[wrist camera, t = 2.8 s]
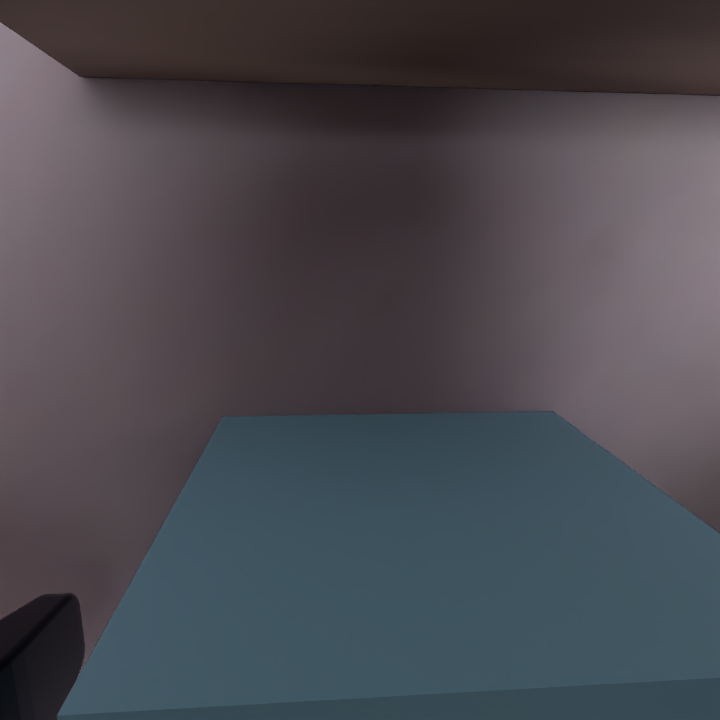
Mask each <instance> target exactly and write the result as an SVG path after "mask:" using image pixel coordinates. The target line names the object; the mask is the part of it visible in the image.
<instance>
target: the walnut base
mask: <svg viewBox="0 0 720 720" xmlns="http://www.w3.org/2000/svg"><path fill="white" fill-rule="evenodd" d="M0 22H1V23H3V24H4V25H5V26H7V27H8V28H10V29H11V30H13V31H14V32H16V33H17V34H19V35H20V36H22V37H23V38H24V39H26V40H27V41H29V42H30V43H32V44H33V45H35V46H36V47H38V48H39V49H40V50H42V51H43V52H45V53H46V54H48V55H49V56H51V57H52V58H54V59H55V60H57V61H58V62H59V63H61V64H62V65H64V66H65V67H67V68H68V69H70V70H71V71H73V72H74V73H76V74H77V75H78V76H80V77H113V78H147V79H182V80H217V81H251V82H286V83H320V84H355V85H389V86H424V87H458V88H493V89H528V90H562V91H597V92H631V93H666V94H700V95H720V0H0Z"/></svg>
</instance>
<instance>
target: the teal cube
mask: <svg viewBox="0 0 720 720" xmlns="http://www.w3.org/2000/svg"><path fill="white" fill-rule="evenodd" d="M57 720H720V533H718V532H717V531H715V530H714V529H713V528H711V527H710V526H709V525H707V524H706V523H705V522H703V521H702V520H700V519H699V518H698V517H696V516H695V515H694V514H692V513H691V512H690V511H688V510H687V509H685V508H684V507H683V506H681V505H680V504H679V503H677V502H676V501H675V500H673V499H672V498H671V497H669V496H668V495H666V494H665V493H664V492H662V491H661V490H660V489H658V488H657V487H656V486H654V485H653V484H651V483H650V482H649V481H647V480H646V479H645V478H643V477H642V476H641V475H639V474H638V473H636V472H635V471H634V470H632V469H631V468H630V467H628V466H627V465H626V464H624V463H623V462H621V461H620V460H619V459H617V458H616V457H615V456H613V455H612V454H611V453H609V452H608V451H606V450H605V449H604V448H602V447H601V446H600V445H598V444H597V443H596V442H594V441H593V440H591V439H590V438H589V437H587V436H586V435H585V434H583V433H582V432H581V431H579V430H578V429H576V428H575V427H574V426H572V425H571V424H570V423H568V422H567V421H566V420H564V419H563V418H561V417H560V416H559V415H557V414H556V413H555V412H553V411H531V412H467V413H404V414H341V415H278V416H223V417H222V418H221V420H220V422H219V424H218V426H217V427H216V429H215V431H214V433H213V435H212V436H211V438H210V440H209V442H208V444H207V445H206V447H205V449H204V451H203V453H202V454H201V456H200V458H199V460H198V462H197V463H196V465H195V467H194V469H193V471H192V473H191V474H190V476H189V478H188V480H187V482H186V483H185V485H184V487H183V489H182V491H181V492H180V494H179V496H178V498H177V500H176V501H175V503H174V505H173V507H172V509H171V510H170V512H169V514H168V516H167V518H166V519H165V521H164V523H163V525H162V527H161V528H160V530H159V532H158V534H157V536H156V537H155V539H154V541H153V543H152V545H151V546H150V548H149V550H148V552H147V554H146V555H145V557H144V559H143V561H142V563H141V564H140V566H139V568H138V570H137V572H136V574H135V575H134V577H133V579H132V581H131V583H130V584H129V586H128V588H127V590H126V592H125V593H124V595H123V597H122V599H121V601H120V602H119V604H118V606H117V608H116V610H115V611H114V613H113V615H112V617H111V619H110V620H109V622H108V624H107V626H106V628H105V629H104V631H103V633H102V635H101V637H100V638H99V640H98V642H97V644H96V646H95V647H94V649H93V651H92V653H91V655H90V656H89V658H88V660H87V662H86V664H85V666H84V667H83V669H82V671H81V673H80V675H79V676H78V678H77V680H76V682H75V684H74V685H73V687H72V689H71V691H70V693H69V694H68V696H67V698H66V700H65V702H64V703H63V705H62V707H61V709H60V711H59V712H58V714H57Z"/></svg>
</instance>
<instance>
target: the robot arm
mask: <svg viewBox="0 0 720 720" xmlns="http://www.w3.org/2000/svg"><path fill="white" fill-rule="evenodd" d="M84 653H85V641H84V634H83V626H82V619H81V611H80V604H79V600H78V598H77V596H75V595H74V594H72V593H64V594H45V595H41V596H40V597H38V598H36V599H34V600H33V601H31V602H29V603H28V604H26V605H24V606H23V607H21V608H19V609H18V610H16V611H14V612H13V613H11V614H9V615H8V616H6V617H4V618H3V619H1V620H0V720H57V714H58V712H59V711H60V709H61V707H62V705H63V703H64V702H65V700H66V698H67V696H68V694H69V693H70V691H71V689H72V687H73V685H74V684H75V682H76V680H77V677H78V675H79V672H80V669H81V666H82V663H83V659H84Z"/></svg>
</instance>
